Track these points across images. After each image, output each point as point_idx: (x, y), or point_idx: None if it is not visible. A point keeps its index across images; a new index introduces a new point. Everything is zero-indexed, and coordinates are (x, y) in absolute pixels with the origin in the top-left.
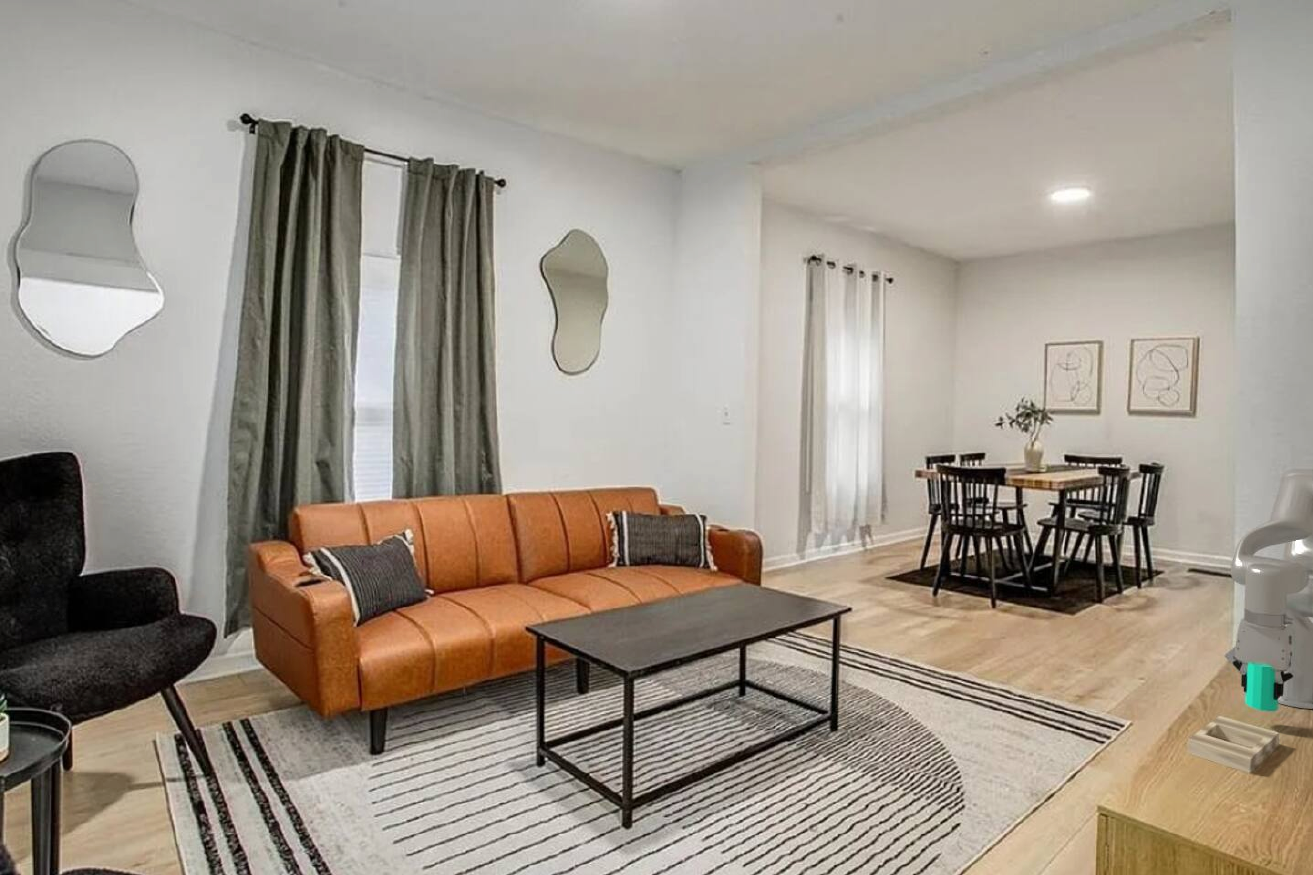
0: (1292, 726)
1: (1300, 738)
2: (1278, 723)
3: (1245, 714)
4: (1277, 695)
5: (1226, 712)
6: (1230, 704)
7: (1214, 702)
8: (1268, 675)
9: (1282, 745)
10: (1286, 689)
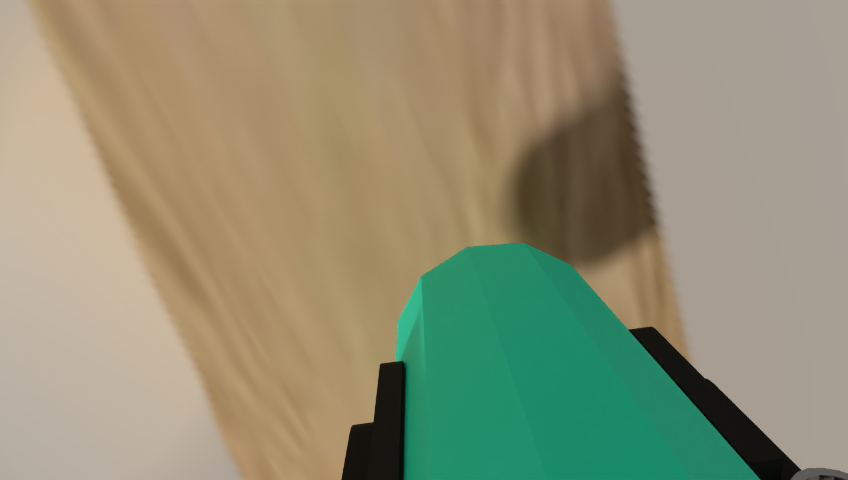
0: (582, 104)
1: (659, 259)
2: (516, 131)
3: (346, 158)
4: None
5: (277, 229)
6: (204, 52)
7: (140, 116)
8: None
9: None
10: None
